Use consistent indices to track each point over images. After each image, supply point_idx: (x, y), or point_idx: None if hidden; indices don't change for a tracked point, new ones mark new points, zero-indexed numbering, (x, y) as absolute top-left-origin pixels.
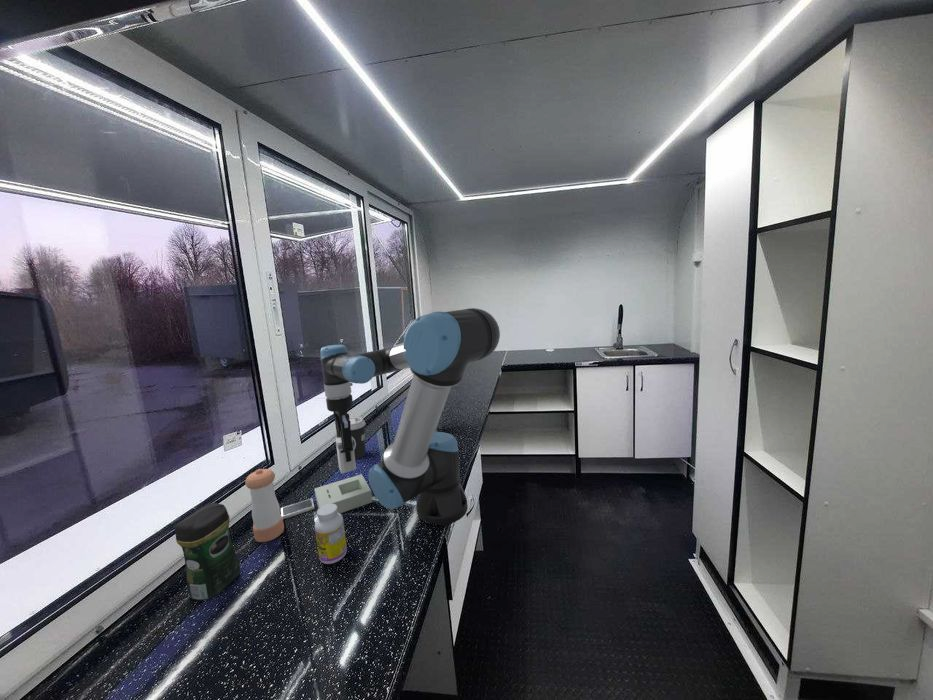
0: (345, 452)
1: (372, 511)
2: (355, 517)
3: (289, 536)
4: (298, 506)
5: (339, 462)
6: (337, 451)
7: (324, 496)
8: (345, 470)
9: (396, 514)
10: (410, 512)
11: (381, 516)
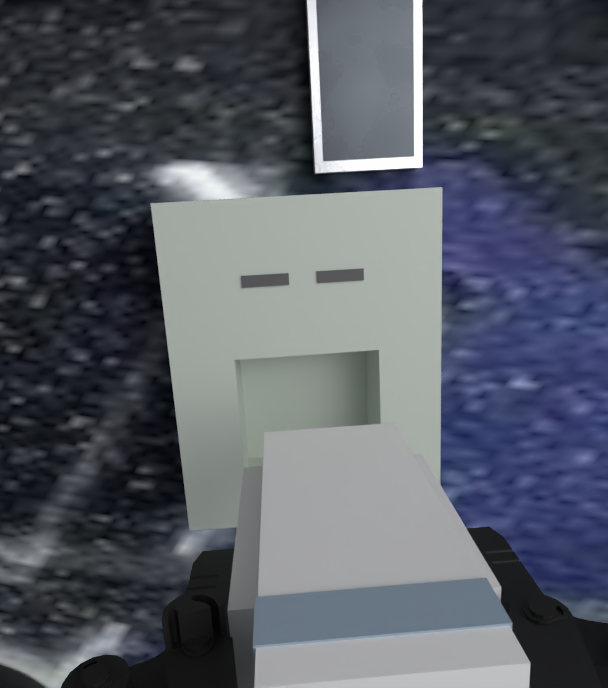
0: (81, 673)
1: (107, 474)
2: (95, 385)
3: (87, 4)
4: (366, 70)
5: (325, 469)
6: (401, 527)
7: (282, 247)
8: (242, 479)
9: (18, 573)
10: (3, 633)
11: (37, 506)
